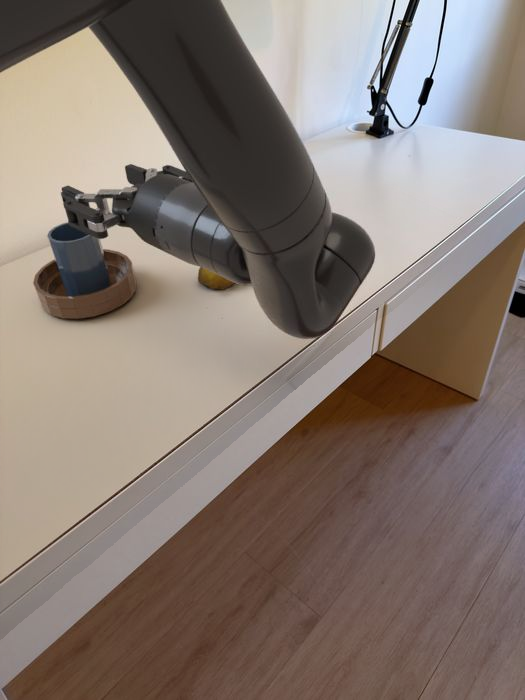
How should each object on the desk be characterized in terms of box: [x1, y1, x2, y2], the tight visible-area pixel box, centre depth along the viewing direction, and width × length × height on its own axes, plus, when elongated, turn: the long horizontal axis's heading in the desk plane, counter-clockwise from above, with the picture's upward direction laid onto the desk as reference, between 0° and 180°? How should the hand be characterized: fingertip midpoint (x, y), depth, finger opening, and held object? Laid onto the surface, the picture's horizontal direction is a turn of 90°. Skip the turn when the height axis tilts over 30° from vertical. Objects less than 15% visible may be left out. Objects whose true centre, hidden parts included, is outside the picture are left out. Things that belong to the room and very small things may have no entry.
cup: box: [46, 221, 112, 297], centre depth 77 cm, size 7×7×10 cm
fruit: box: [197, 266, 234, 291], centre depth 81 cm, size 8×8×4 cm
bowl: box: [32, 248, 137, 320], centre depth 79 cm, size 14×14×4 cm
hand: (98, 183), depth 62 cm, fingers open, 8 cm apart
